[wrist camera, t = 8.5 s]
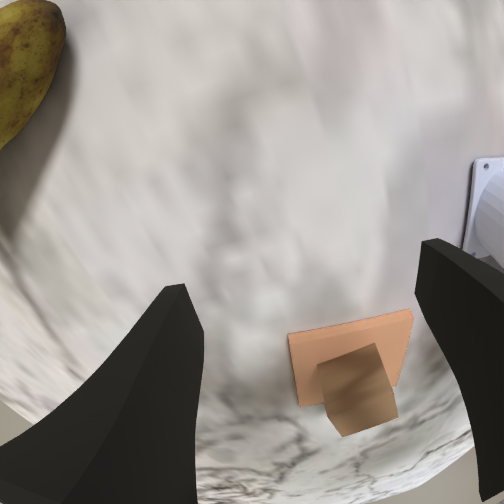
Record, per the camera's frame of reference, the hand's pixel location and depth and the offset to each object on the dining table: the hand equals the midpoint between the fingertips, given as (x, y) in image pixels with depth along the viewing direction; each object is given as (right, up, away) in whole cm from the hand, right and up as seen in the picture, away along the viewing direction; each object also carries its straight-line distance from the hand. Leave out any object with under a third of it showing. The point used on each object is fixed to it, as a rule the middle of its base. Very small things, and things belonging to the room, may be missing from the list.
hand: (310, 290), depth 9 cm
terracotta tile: (+7, -8, +17) cm, 20 cm away
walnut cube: (+7, -9, +16) cm, 19 cm away
